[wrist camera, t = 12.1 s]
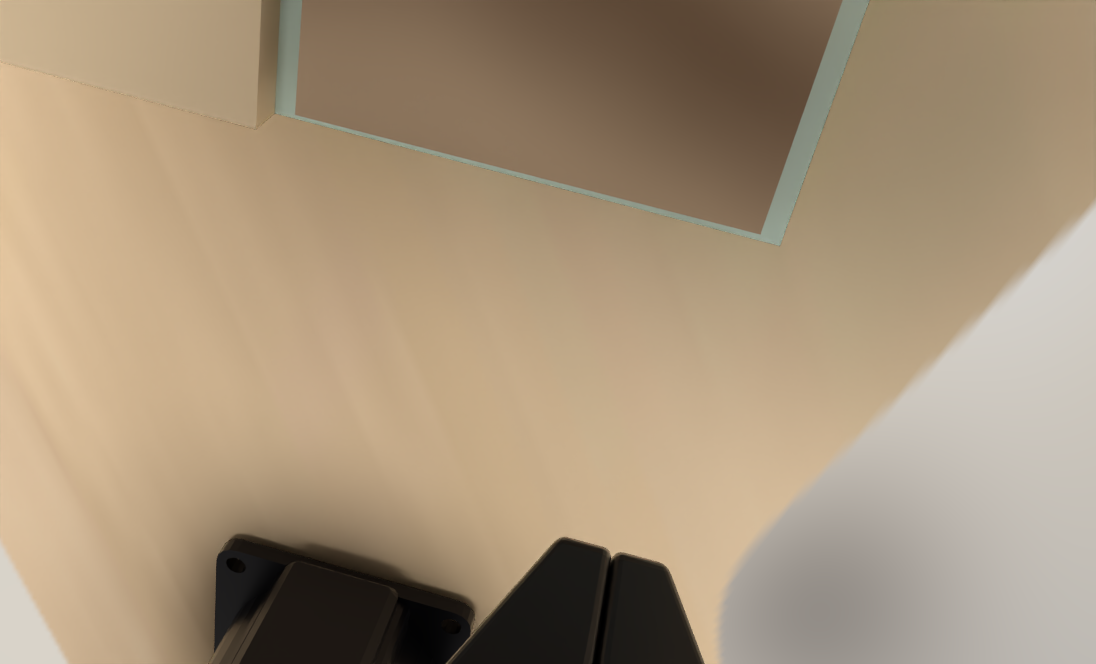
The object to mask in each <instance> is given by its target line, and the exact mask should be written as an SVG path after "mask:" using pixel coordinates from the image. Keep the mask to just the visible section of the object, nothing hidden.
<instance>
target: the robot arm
mask: <svg viewBox="0 0 1096 664" xmlns="http://www.w3.org/2000/svg"><path fill="white" fill-rule="evenodd" d="M450 619H453V620H455V621H452V620H450ZM456 621H457V622H456ZM474 621H475V614H474V613H473V611H472V609H471V608H470V607H469V606H468V605H466V604H465V603H462V602H460V601H458V600H454V599H451V598H447V597H444V596H440V595H437V594H433V593H430V592H426V591H422V590H419V589H415V588H412V587H408V586H405V585H401V584H398V583H394V582H391V581H387V580H384V579H380V578H377V577H373V576H370V575H366V574H362V573H359V572H355V571H352V570H348V569H345V568H341V567H338V566H334V565H331V564H327V563H324V562H320V561H317V560H313V559H310V558H306V557H303V556H299V555H295V554H292V553H288V552H285V551H281V550H278V549H274V548H271V547H267V546H264V545H260V544H257V543H253V542H250V541H246V540H242V539H233V540H229V541H228V542H227V543H225V545H224V547H223V548H222V550H221V551H220V553H219V554H218V557H217V564H216V604H215V644H214V654H213V656H212V658H211V660H210V661H209V663H208V664H705V663H704V661H703V658H702V655H701V653H700V650H699V648H698V645H697V642H696V640H695V637H694V634H693V632H692V629H691V626H690V624H689V621H688V618H687V616H686V613H685V610H684V608H683V605H682V602H681V600H680V597H679V595H678V592H677V589H676V587H675V584H674V581H673V579H672V576H671V574H670V572H669V570H668V568H667V567H666V566H665V565H663V564H662V563H659V562H656V561H652V560H649V559H645V558H641V557H638V556H634V555H630V554H627V553H621V552H620V553H617V554H615V555H614V556H613V557H612V559H611V555H610V552H609V551H608V550H607V549H606V548H604V547H601V546H598V545H594V544H590V543H586V542H583V541H579V540H575V539H572V538H568V537H562V538H559V539H558V540H556V541H555V542H554V543H553V544H552V545H551V546H550V547H549V548H548V549H547V551H546V552H545V553H544V554H543V555H542V556H541V557H540V558H539V560H538V561H537V562H536V563H535V564H534V565H533V566H532V567H531V569H530V570H529V571H528V572H527V573H526V574H525V575H524V576H523V578H522V579H521V580H520V581H519V582H518V583H517V584H516V585H515V587H514V588H513V589H512V590H511V591H510V592H509V593H508V594H507V596H506V597H505V598H504V599H503V600H502V601H501V602H500V603H499V605H498V606H497V607H496V608H495V609H494V610H493V611H492V612H491V614H490V615H489V616H488V617H487V618H486V619H485V620H484V621H483V622H482V624H481V625H480V626H479V627H478V628H477V629H476V630H475V631H474V633H473V634H472V630H473V625H474ZM471 634H472V635H471Z"/></svg>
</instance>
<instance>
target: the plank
mask: <svg viewBox="0 0 1096 664" xmlns="http://www.w3.org/2000/svg"><path fill="white" fill-rule="evenodd" d="M842 1H843V0H302V11H301V27H300V43H299V59H298V74H297V90H296V106H295V115H297V116H301V117H305V118H309V119H313V120H317V121H321V122H325V123H328V124H332V125H336V126H340V127H344V128H348V129H352V130H356V131H360V132H363V133H367V134H371V135H375V136H379V137H383V138H387V139H391V140H395V141H398V142H402V143H406V144H410V145H414V146H418V147H422V148H426V149H430V150H433V151H437V152H441V153H445V154H449V155H453V156H457V157H461V158H465V159H468V160H472V161H476V162H480V163H484V164H488V165H492V166H496V167H500V168H503V169H507V170H511V171H515V172H519V173H523V174H527V175H531V176H535V177H538V178H542V179H546V180H550V181H554V182H558V183H562V184H566V185H570V186H573V187H577V188H581V189H585V190H589V191H593V192H597V193H601V194H605V195H608V196H612V197H616V198H620V199H624V200H628V201H632V202H636V203H639V204H643V205H647V206H651V207H655V208H659V209H663V210H667V211H671V212H674V213H678V214H682V215H686V216H690V217H694V218H698V219H702V220H706V221H709V222H713V223H717V224H721V225H725V226H729V227H733V228H737V229H741V230H744V231H748V232H752V233H756V234H761V231H762V229H763V226H764V223H765V220H766V217H767V214H768V212H769V209H770V206H771V203H772V200H773V197H774V194H775V192H776V189H777V186H778V183H779V180H780V177H781V175H782V172H783V169H784V166H785V163H786V160H787V157H788V155H789V152H790V149H791V146H792V143H793V140H794V137H795V135H796V132H797V129H798V126H799V123H800V120H801V118H802V115H803V112H804V109H805V106H806V103H807V100H808V98H809V95H810V92H811V89H812V86H813V83H814V81H815V78H816V75H817V72H818V69H819V66H820V63H821V61H822V58H823V55H824V52H825V49H826V46H827V44H828V41H829V38H830V35H831V32H832V29H833V26H834V24H835V21H836V18H837V15H838V12H839V9H840V6H841V4H842Z"/></svg>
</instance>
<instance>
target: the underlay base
mask: <svg viewBox="0 0 1096 664" xmlns="http://www.w3.org/2000/svg"><path fill="white" fill-rule="evenodd" d="M869 1H870V0H843V1H842V4H841V6H840V9H839V12H838V15H837V18H836V21H835V24H834V26H833V29H832V32H831V35H830V38H829V41H828V44H827V46H826V49H825V52H824V55H823V58H822V61H821V63H820V66H819V69H818V72H817V75H816V78H815V81H814V83H813V86H812V89H811V92H810V95H809V98H808V100H807V103H806V106H805V109H804V112H803V115H802V118H801V120H800V123H799V126H798V129H797V132H796V135H795V137H794V140H793V143H792V146H791V149H790V152H789V155H788V157H787V160H786V163H785V166H784V169H783V172H782V175H781V177H780V180H779V183H778V186H777V189H776V192H775V194H774V197H773V200H772V203H771V206H770V209H769V212H768V214H767V217H766V220H765V223H764V226H763V229H762V231H761V234H756V233H752V232H748V231H744V230H741V229H737V228H733V227H729V226H725V225H721V224H717V223H713V222H709V221H706V220H702V219H698V218H694V217H690V216H686V215H682V214H678V213H674V212H671V211H667V210H663V209H659V208H655V207H651V206H647V205H643V204H639V203H636V202H632V201H628V200H624V199H620V198H616V197H612V196H608V195H605V194H601V193H597V192H593V191H589V190H585V189H581V188H577V187H573V186H570V185H566V184H562V183H558V182H554V181H550V180H546V179H542V178H538V177H535V176H531V175H527V174H523V173H519V172H515V171H511V170H507V169H503V168H500V167H496V166H492V165H488V164H484V163H480V162H476V161H472V160H468V159H465V158H461V157H457V156H453V155H449V154H445V153H441V152H437V151H433V150H430V149H426V148H422V147H418V146H414V145H410V144H406V143H402V142H398V141H395V140H391V139H387V138H383V137H379V136H375V135H371V134H367V133H363V132H360V131H356V130H352V129H348V128H344V127H340V126H336V125H332V124H328V123H325V122H321V121H317V120H313V119H309V118H305V117H301V116H297V115H295V106H296V90H297V74H298V59H299V43H300V27H301V11H302V0H0V62H2V63H5V64H9V65H13V66H17V67H20V68H24V69H28V70H32V71H36V72H39V73H43V74H47V75H51V76H55V77H58V78H62V79H66V80H70V81H74V82H77V83H81V84H85V85H89V86H93V87H96V88H100V89H104V90H108V91H112V92H115V93H119V94H123V95H127V96H131V97H134V98H138V99H142V100H146V101H150V102H153V103H157V104H161V105H165V106H168V107H172V108H176V109H180V110H184V111H187V112H191V113H195V114H199V115H203V116H206V117H210V118H214V119H218V120H222V121H225V122H229V123H233V124H237V125H241V126H244V127H248V128H252V129H257V128H258V127H260V126H261V125H262V124H263V123H264V122H265V121H267V120H268V119H269V118H270V117H271V116H272V115H273V114H279V115H283V116H287V117H290V118H294V119H298V120H302V121H306V122H309V123H313V124H317V125H321V126H325V127H329V128H332V129H336V130H340V131H344V132H348V133H351V134H355V135H359V136H363V137H367V138H370V139H374V140H378V141H382V142H386V143H389V144H393V145H397V146H401V147H405V148H409V149H412V150H416V151H420V152H424V153H428V154H431V155H435V156H439V157H443V158H447V159H450V160H454V161H458V162H462V163H466V164H469V165H473V166H477V167H481V168H485V169H489V170H492V171H496V172H500V173H504V174H508V175H511V176H515V177H519V178H523V179H527V180H530V181H534V182H538V183H542V184H546V185H549V186H553V187H557V188H561V189H565V190H568V191H572V192H576V193H580V194H584V195H588V196H591V197H595V198H599V199H603V200H607V201H610V202H614V203H618V204H622V205H626V206H629V207H633V208H637V209H641V210H645V211H648V212H652V213H656V214H660V215H664V216H668V217H671V218H675V219H679V220H683V221H687V222H690V223H694V224H698V225H702V226H706V227H709V228H713V229H717V230H721V231H725V232H728V233H732V234H736V235H740V236H744V237H748V238H751V239H755V240H759V241H763V242H767V243H770V244H774V245H778V246H780V244H781V242H782V239H783V236H784V233H785V231H786V228H787V225H788V222H789V220H790V217H791V214H792V211H793V209H794V206H795V203H796V201H797V198H798V195H799V192H800V190H801V187H802V184H803V181H804V179H805V176H806V173H807V170H808V168H809V165H810V162H811V159H812V157H813V154H814V151H815V149H816V146H817V143H818V140H819V138H820V135H821V132H822V129H823V127H824V124H825V121H826V118H827V116H828V113H829V110H830V107H831V105H832V102H833V99H834V97H835V94H836V91H837V88H838V86H839V83H840V80H841V77H842V75H843V72H844V69H845V66H846V64H847V61H848V58H849V55H850V53H851V50H852V47H853V45H854V42H855V39H856V36H857V34H858V31H859V28H860V25H861V23H862V20H863V17H864V14H865V12H866V9H867V6H868V4H869Z"/></svg>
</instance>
